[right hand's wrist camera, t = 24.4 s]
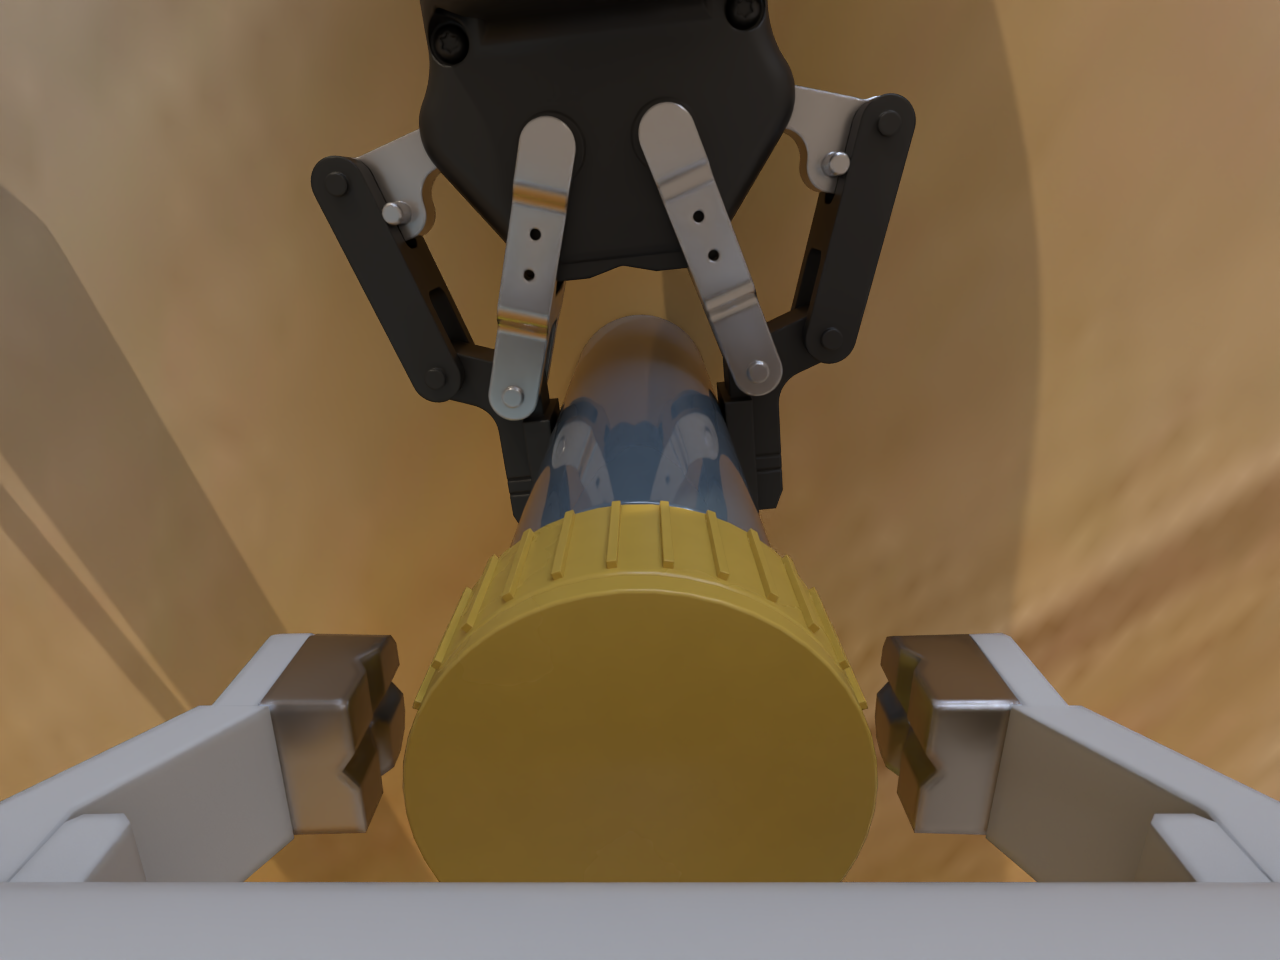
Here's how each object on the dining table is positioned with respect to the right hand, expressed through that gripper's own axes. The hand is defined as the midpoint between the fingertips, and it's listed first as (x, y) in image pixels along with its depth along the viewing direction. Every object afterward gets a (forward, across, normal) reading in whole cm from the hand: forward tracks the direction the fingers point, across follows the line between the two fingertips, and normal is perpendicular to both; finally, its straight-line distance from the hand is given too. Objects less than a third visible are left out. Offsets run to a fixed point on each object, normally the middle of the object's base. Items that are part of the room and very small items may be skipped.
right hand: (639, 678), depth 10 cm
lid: (-2, 0, 0) cm, 2 cm away
